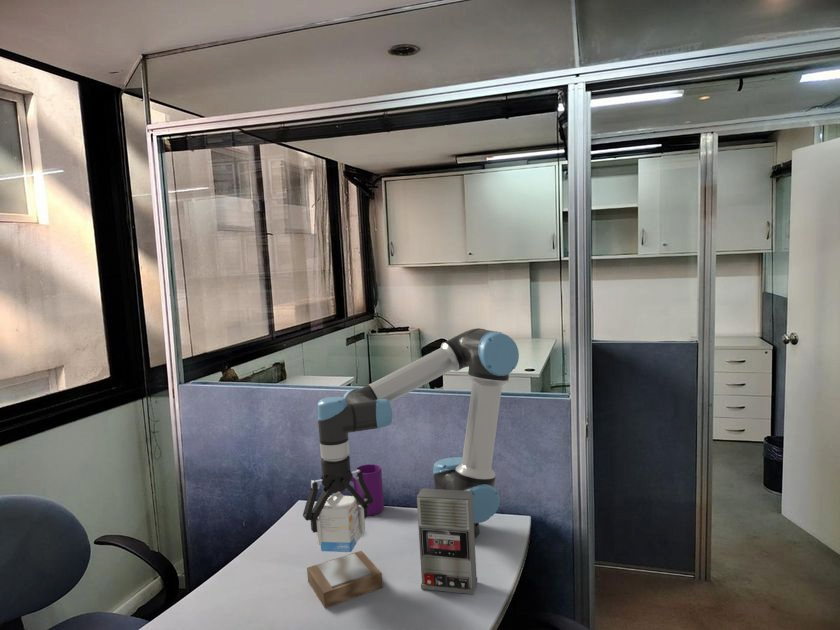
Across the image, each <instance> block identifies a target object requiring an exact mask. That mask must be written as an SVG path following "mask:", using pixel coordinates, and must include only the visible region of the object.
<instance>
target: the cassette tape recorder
mask: <svg viewBox="0 0 840 630" xmlns="http://www.w3.org/2000/svg"><path fill="white" fill-rule="evenodd" d="M416 506H417V507H416V508H417V509H416V510H417V525H418V526H417V527H418V537H419V538H418V540H419V541H418V542H419V557H420V558H419V559H420V569H421V570H420V571H421V572H420V573H421V574H420V575H421V584H420V589H421V590H425V591H426V590H429V591H438V592H439V591H440V592H449V593H458V594H466V595H467V594H469V595H475V590H476V588H477V584H478V576H477V561H476V558H477V557H476V542H475V540H476V539H475V538H476V537H474V518H473V499H472V491H460V490H442V489H434V488H420V491H419V492H418V493H417V495H416Z"/></svg>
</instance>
